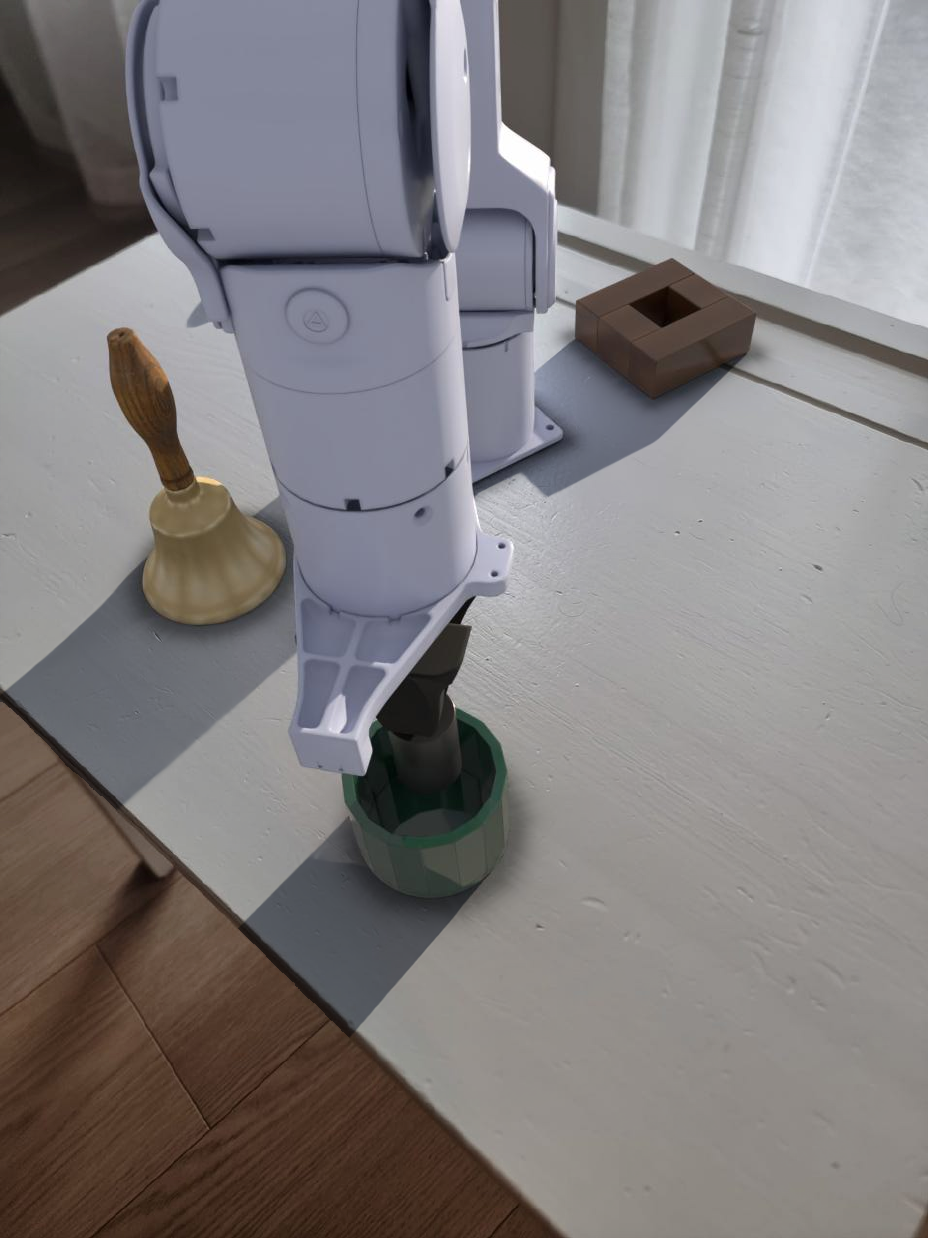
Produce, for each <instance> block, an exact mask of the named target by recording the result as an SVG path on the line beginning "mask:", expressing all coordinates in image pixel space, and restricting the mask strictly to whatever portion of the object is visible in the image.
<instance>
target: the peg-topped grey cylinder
mask: <svg viewBox="0 0 928 1238" xmlns="http://www.w3.org/2000/svg"><path fill="white" fill-rule="evenodd" d="M455 707H456V705H455V702H454V701H453V699H452V697H451V696H450V695H449V694H448V692H447V693H446V695H445V698H444V702H443V709H442V713H441V716H440V720H439V724H438V728H437V730H436V733H435V735H434V736H432V737H425V736H418V735H411V734H405V733H398V732H391V731H388V735H389V739H390V744H391V748H392V753H393V757H394V762H395V766H396V771H397V775H398V777H399V779H400V781H401V782H402V783H403V785H404V786H406V787H407V788H408V789H410V790H412V791H414V792H417V793H421V794H434V793H438V792H441V791H443V790H445V789H447V788H448V787H450V786H451V785H452V784H453V783H454V782H455V781H456V780H457V778H458V776H459V774H460V772H461V767H462V760H461V751H460V743H459V735H458V726H457V718H456V710H455Z"/></svg>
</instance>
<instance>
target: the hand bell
mask: <svg viewBox="0 0 928 1238" xmlns="http://www.w3.org/2000/svg"><path fill="white" fill-rule="evenodd" d="M137 335H138V334H137V333H136V332H135V330H134V329H133V328H130V327H125V326H123V327H118V328H115V329H113V330H112V331H110V332H109V333H108V334H107V336H106V342H107V348H108V367H109V368H108V369H109V370H108V371H109V380H110V384H111V389H112V392H113V395H114V398H115V399H116V403H117V404H118V407H119V409H120V411H121V412H122V414H123V416H124V418H125V419H126V421H127V423H128V424H129V425H130V426H131V428H132V429H133V430H134V432H136V434H137V435H138V436H139V437H140V439H142V440H143V442H144V443H145V444H146V446H147V447H148V449H149V451H150V455H151V457H152V459H153V462H154V465H155V468H156V470H157V473H158V476H159V481H160V482H161V485H162V486H163V488H162V489H161V490H159V492H158V493H157V494H156V495H155V496H154V498H153V499H152V501H151V503H150V506H149V509H148V510H149V511H148V519H149V524H150V527H151V530H152V534H153V540H154V546H153V548H152V550H151V552H150V553H149V555H148V556H147V559H146V561H145V564H144V567H143V573H142V580H141V581H142V589H143V594H144V596H145V599H146V600H147V602H148V604H149V605H150V607H151V608H152V609H153V610H155V611H156V612H157V613H158V614H159V615H161V616H162V617H165V618H166V619H168V620H171V621H173V622H175V623H179V624H185V625H191V626H192V625H193V626H198V625H199V626H204V625H213V624H215V625H216V624H221V623H225V622H228V621H231V620H234V619H237V618H239V617H241V616H243V615H245V614H247V613H249V612H251V611H252V610H255V609H256V608H257V607H258V606H260V605H261V604H262V603H263V602H265V601H266V600H267V599H268V598H269V597H270V596H271V595H272V594H273V592H274V591H275V590H276V589H277V588H278V585H279V584H280V582H281V580H282V578H283V575H284V574H285V569H286V565H287V553H286V552H287V551H286V549H285V545H284V543H283V541H282V539H281V537H280V536H279V534H278V533H277V532H276V531H275V530H274V529H273V528H272V527H270V526H269V525H268V524H266V523H264V522H263V521H261V520H259V519H257V518H254V517H253V516H249V515H246V514H243V513H242V511H241V510H240V509H239V507H238V506H237V505H236V503H235V501H234V499H233V497H232V495H231V494H230V492H229V490H228V488H227V487H226V486H225V485H224V484H222V483H221V482H219V481H218V480H216V479H214V478H210V477H205V476H195V473H194V470H193V468H192V466H191V465H190V461H189V460H188V457H187V455H186V453H185V451H184V448H183V446H182V444H181V441H180V438H179V434H178V433H179V432H178V416H177V415H178V414H177V405H176V401H175V397H174V393H173V390H172V387H171V384H170V381H169V379H168V377H167V374H166V372H165V371H164V369H163V367H162V366H161V363H159V361H158V360H157V358H156V357H155V355H153V354H152V352H151V351H150V350H149V349H148V348H147V347H146V346H145V345H144V344H143V342H142V341H141V340H140V338H139V337H138V336H137Z"/></svg>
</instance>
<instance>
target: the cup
mask: <svg viewBox="0 0 928 1238" xmlns="http://www.w3.org/2000/svg"><path fill="white" fill-rule="evenodd" d="M455 710H456V718H457V726H458V735H459V743H460V751H461V760H462V767H461V772H460V774H459V776H458V778H457V780H456V781H455V782H454V783H453V784H452V785H451V786H450V787H448V788H447V789H445V790H443V791H441V792H438V793H434V794H421V793H417V792H414V791H412V790H410V789H408V788H407V787H406V786H404V785H403V783H402V782H401V781H400V779H399V777H398V775H397V771H396V766H395V762H394V757H393V753H392V748H391V744H390V739H389V735H388V731H386V730H385V729H384V728H383V726H382V725H381V724H380V722H379V721H378V720H377V719H376V720H374V721H373V723H372V724H371V726H370V728H369V738H370V742H371V746H372V755H371V758H370V761H369V765H368V768H367V771H366V774H365V775H364V776H358V775H352V774H345V773H343V774H342V773H341V774H340V776H341V784H342V794H343V799H344V800H343V801H344V804H345V807H346V811H347V814H348V817H349V820H350V823H351V827H352V830H353V832H354V836H355V839H356V842H357V845H358V849H359V851H360V852H361V854H362V856H363V859H364V861H365V862H366V865H367V866H368V868H369V869H370V870H371V872H372V873H373V874H374V875H375V876H376V877H377V878H378V879H379V880H380V881H381V882H382V883H384V884H385V885H386V886H388V887H389V888H391V889H392V890H395V891H397V892H399V893H402V894H403V895H407V896H411V897H415V898H423V899H438V898H447V897H451V896H454V895H458V894H460V893H462V892H464V891H467V890H469V889H470V888H473V887H474V886H476V885H477V884H478V883H480V882H481V881H483V880H484V879H485V878H486V877H487V876H488V875H489V874H490V873H491V872H492V871H493V870H494V868H495V867H496V866H497V865H498V863H499V861H500V860H501V858H502V856H503V855H504V852H505V851H506V846H507V844H508V839H509V832H510V823H511V814H510V813H511V812H510V811H511V810H510V794H509V793H510V791H509V774H508V767H507V763H506V758H505V755H504V751H503V747H502V744H501V742H500V741H499V739H498V738H497V737H496V735H494V733H493V732H492V731H491V729H489V727H488V725H486V723H485V722H483V720H481V719H479V718H477V717H475V716H474V715H472V714H470V713H468V712H466V711H464V710H462V709H460V708H458V707H457V706H455Z"/></svg>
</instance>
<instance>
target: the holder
mask: <svg viewBox="0 0 928 1238" xmlns="http://www.w3.org/2000/svg"><path fill="white" fill-rule="evenodd" d="M757 314H758V313H757V311H755V310H753V309H752V308H750V306H747V305H746V304H744V303H742V302H741V301H740V300H738V299H736V298H735V297H734V296H732V295H730V294H728V293H726V292H725V291H724V290H722V289H721V288H720V287H718V286H716V285H714V284H713V283H712V282H710V281H709V280H708V279H705V278H704V277H702V275H701V276H700V275H699V274H698V273H696V272H695V271H693V270H692V269H690V268H688V267H687V266H686V265H684V264H682V263H681V262H680V261H678V260H677V259H675V258H673V257H671V258H668V259H665V260H664V261H661V262H659V263H657V264H655V265H653V266H650V267H648V268H646V269H643V270H641V271H639V272H636V273H635V274H632V275H629V276H627V277H625V278H623V279H621V280H619V281H617V282H614V283H612V284H610V285H607V286H605V287H603V288H600V289H599V290H596V291H594V292H592V293H590V294H587V295H585V296H583V297H580V298H578V299H576V300H575V315H574V316H575V320H574V339H576V340H577V341H578V342H579V343H581V344H582V345H583V346H585V347H586V348H587V349H588V350H590V351H591V352H592V353H593V354H595V355H596V356H597V357H598V358H599V359H601V360H602V361H603V362H605V364H607V365H608V366H610V367H611V368H612V369H614V370H615V371H616V372H617V373H619V374H620V375H621V376H622V377H623V378H625V379H626V380H628V381H629V382H630V383H631V384H632V385H634V386H635V387H637V388H638V389H639V390H640V391H642V392H643V393H644V394H645V395H647V396H648V397H649V398H650V399H652V400H654V399H656V398H658V397H660V396H662V395H664V394H666V393H668V392H670V391H672V390H673V389H676V388H678V387H681V386H683V384H686V383H688V382H690V381H692V380H695V379H696V378H698V377H700V376H702V375H704V374H706V373H708V372H710V371H713V370H714V369H716V368H719V367H720V366H722V365H724V364H726V363H729V362H730V361H733V360H734V359H736V358H738V357H740V356H742V355H744V354H746V353H748V352H750V350H751V346H752V340H753V334H754V329H755V324H756V320H757ZM663 324H664V325H665V326H663V327H661V325H663Z"/></svg>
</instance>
